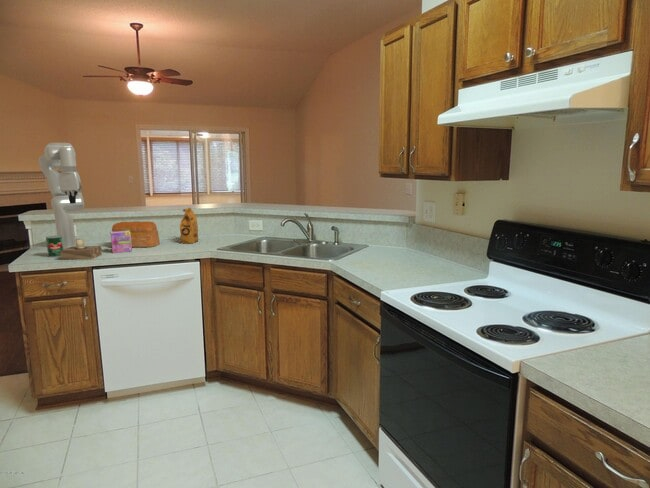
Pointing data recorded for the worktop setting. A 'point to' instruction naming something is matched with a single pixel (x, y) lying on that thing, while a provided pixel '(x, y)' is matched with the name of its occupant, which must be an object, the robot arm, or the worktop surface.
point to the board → (80, 253)
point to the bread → (139, 233)
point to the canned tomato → (54, 245)
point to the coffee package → (189, 227)
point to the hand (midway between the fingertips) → (72, 203)
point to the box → (121, 241)
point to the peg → (80, 244)
